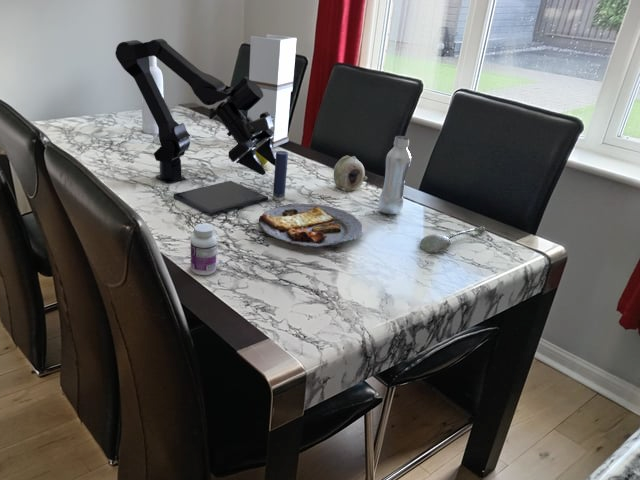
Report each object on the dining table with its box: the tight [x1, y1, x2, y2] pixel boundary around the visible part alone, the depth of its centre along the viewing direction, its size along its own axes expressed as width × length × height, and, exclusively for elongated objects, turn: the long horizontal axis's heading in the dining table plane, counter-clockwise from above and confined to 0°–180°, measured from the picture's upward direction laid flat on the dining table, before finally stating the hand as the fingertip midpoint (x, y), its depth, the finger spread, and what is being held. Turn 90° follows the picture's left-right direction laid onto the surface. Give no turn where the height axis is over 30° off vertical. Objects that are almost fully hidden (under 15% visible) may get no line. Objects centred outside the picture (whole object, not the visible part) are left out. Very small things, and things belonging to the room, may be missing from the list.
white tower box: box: [246, 34, 298, 149], centre depth 201 cm, size 11×11×35 cm
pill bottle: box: [190, 223, 218, 276], centre depth 117 cm, size 5×5×10 cm
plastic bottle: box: [377, 135, 412, 215], centre depth 149 cm, size 6×7×20 cm
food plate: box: [257, 202, 363, 248], centre depth 139 cm, size 25×23×4 cm
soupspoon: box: [419, 225, 486, 254], centre depth 139 cm, size 22×3×7 cm
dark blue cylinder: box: [272, 150, 289, 202], centre depth 155 cm, size 3×3×13 cm
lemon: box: [256, 148, 269, 166], centre depth 180 cm, size 6×6×8 cm
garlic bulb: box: [333, 155, 368, 192], centre depth 168 cm, size 9×8×10 cm
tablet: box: [173, 180, 269, 217], centre depth 156 cm, size 16×20×1 cm
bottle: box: [140, 56, 164, 135], centre depth 205 cm, size 8×8×30 cm
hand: (270, 169), depth 155 cm, fingers open, 9 cm apart
